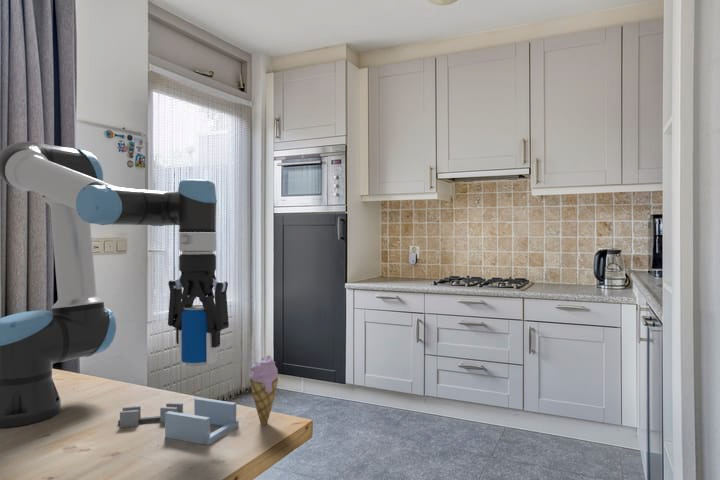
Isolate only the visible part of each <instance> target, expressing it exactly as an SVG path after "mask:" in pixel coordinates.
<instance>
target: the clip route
mask: <svg viewBox="0 0 720 480" xmlns="http://www.w3.org/2000/svg"><path fill="white" fill-rule="evenodd" d="M159 409H160V410H159V411H160V412H159V415H157V416H146V417H145V416H144V417H141V416H142V414H141V413H142V412H141V405H132V406H131V405H129V406H122V411H120V412H119V419H118V421H117V426H119V428H128V427H138V426H139V424H146V423H147V424H148V423H156V422H157V423H158V422H160V423H164V424H165V413H166V412H168V411H172V412H178V413H184V403H183V402H167V403H166V405H165V406H161V407H160V408H159Z"/></svg>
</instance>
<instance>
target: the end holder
mask: <svg viewBox="0 0 720 480" xmlns="http://www.w3.org/2000/svg"><path fill="white" fill-rule="evenodd" d="M193 401H194V404H193V405H194V409H193V410H194V411H193V412H194V414H188V413H185V412H183V413H178V412H172V411H168V412H166V413H165V423H164V437H165V438H169V439H172V440H173V439H175V440H178V441H183V442H191V443H195V444H196V443H197V444H201V445H205V446H210V445H211V444H212V443H214V442H215V441H217V440H219V439H221V438H222V437H224V436H225V435H227V434H229V433H230V432H231V431H233V430H235V429H236V428H237V427H239V425H240V423H239V420H238V419H237V402H234V401H233V402H232V401H226V400H225V401H224V400H221V399H220V400H218V399H211V398H204V397H196V398H194V400H193ZM211 425H216V426H221V427H220V428H218V429H216V430H215V431H213V432H211Z"/></svg>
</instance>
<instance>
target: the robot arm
mask: <svg viewBox="0 0 720 480" xmlns="http://www.w3.org/2000/svg"><path fill="white" fill-rule="evenodd" d="M0 179H1V180H2V181H3V182H4V183H5V184H7V185H8V186H10V187H13V188H15V189H17V190H19V191H23V192H35V193H37V194H40V195H42V201H43V202H44V203H46V204H47V205H49V207H50V216H51V217H50V218H51V219H50V220H51V229H52V231H51V232H52V241H53V254H54V267H55V278H56V291H57V300H56V302H55V303H54V304H53V305H52V306H51V311H50V310H47V309H46V310H45V309H42V310H40V309H37V310H30V311H23V312H18V313H13V314H10V315H6V316H4V317H1V318H0V428H11V427H18V426H26V425H30V424H34V423H37V422H41V421H44V420H47V419H49V418H51V417H53V416H56V415H58V414H59V413H60V411H61V410H62V408H61V407H62V401H61V397H60V396H59V392H58V390H57V387H56V384H55V383H54V380H53V364H56V363H62V362H67V361H70V360H75V359H80V358H85V357H92V356H93V355H96V354H100V353H103V352H105V351H106V350H107V349H108V348H109V347H110V346H111V344H112V343H113V342H114V339H115V337H116V333H117V320H116V317H115V315H113V311H112V310H111V309H109V308H108V307H107V308H106V307H105V302H104V300H103V299H101V298H100V297H98V295H97V288H96V287H97V286H96V285H97V284H96V275H95V274H96V273H95V263H94V262H95V261H94V253H93V252H94V251H93V250H94V249H93V242H92V241H93V239H92V227H91V224H95V225H100V226H105V225H106V226H107V225H119V226H120V225H123V226H124V225H126V226H127V225H130V226H133V225H134V226H135V225H136V226H137V225H138V226H152V227H164V226H178V227H179V229H178V234H179V235H178V238H179V239H178V245H179V247H178V250H179V252H181V254H179V257H178V270H179V272H181V273H180V276H179V278H177V279H174V280H169V281H168V283H167V284H168V289H169V299H168V300H169V301H168V302H169V303H168V304H169V305H168V313H167V315H168V317H167V325H168V326H169V327H173V328H174V329H175V339H176V340H175V341H176V345H178V362H182V312H183V311H184V307H185V308H188V307H191V306H193V305H194V303H195V302H194V301H195V300H196V299H197V298H198V300H199V301H200V302H201V305H203V308H204V311H205V313H206V319H207V322H208V326H209V329H210V331H208V332H207V333H206V347H207V364H206V365H212V364H213V363H216V362H218V348H219V347H220V346H221V331H222V330H225V329H228V328H229V325H230V324H229V314H228V311H229V310H228V309H229V308H228V299H227V298H228V297H227V293H228V291H227V290H228V287H229V286H228V285H229V282H228V281H220V280H218V279H217V277H216V274H215V273H216V270H217V255H216V253H214V252H216V251H217V202H218V200H217V193H216V192H217V191H216V185H215V182H213V181H210V180H206V179H205V180H204V179H182V180H181V181H179V183H178V188H177V191H176V190H174V191H169V190H168V191H163V190H162V191H161V190H153V189H152V190H151V189H141V188H140V189H139V188H138V189H137V188H129V187H121V186H115V185H113V184H110V183H108V182H105V181H104V171H103V168H102V165H101V163H100V160H98V158H97V157H96V156H95V155H94V154H93V153H92V152H90V151H87V150H83V149H79V148H77V147H67V146H61V145H59V146H58V145H54V144H46V143H40V142H35V141H20V142H19V141H18V142H15V143H12V144H8V146H6V147H4V148H3V149H2V150H1V151H0Z"/></svg>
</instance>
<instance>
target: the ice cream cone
mask: <svg viewBox="0 0 720 480" xmlns="http://www.w3.org/2000/svg"><path fill="white" fill-rule="evenodd" d="M273 359H274V358H273V357H272V356H271V355H269V354H268V355H267V356H266V358H265V357H261V361H256V362H254V364H252V365H251V367H250V368H249V370H250V371H251V372H252V374H250V375H249V377H248V378H249V382H250V388H251V393H252V396H253V402H254V405H255V409H256V412H257V415H258V419H259V422H260V425H262V426H265V425H268V422H269V418H270V415H271V411H272V408H273V404H274V400H275V396H276V391H277V385H278V379H279V377H278V374H279V371H278V370H279V369H278V368H277V366H276V364H275V363H276V361H273Z"/></svg>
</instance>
